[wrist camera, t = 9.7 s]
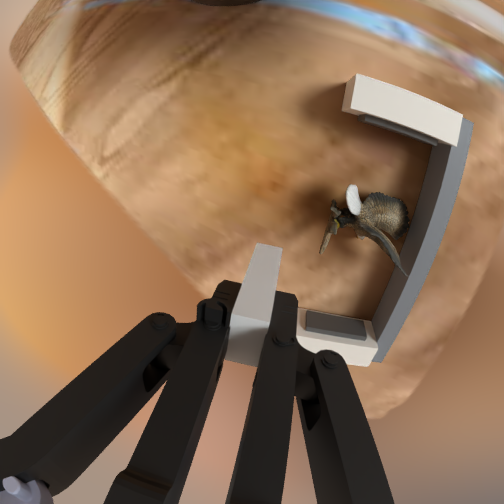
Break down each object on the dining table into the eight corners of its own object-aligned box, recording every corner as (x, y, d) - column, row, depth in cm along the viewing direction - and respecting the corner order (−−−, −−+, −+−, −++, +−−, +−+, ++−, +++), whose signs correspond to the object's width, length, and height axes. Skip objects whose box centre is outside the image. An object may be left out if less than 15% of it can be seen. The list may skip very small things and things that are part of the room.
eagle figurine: (317, 260, 29) (398, 282, 27) (318, 247, 22) (422, 276, 20) (334, 192, 30) (411, 214, 28) (339, 162, 23) (435, 190, 21)
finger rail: (346, 82, 22) (356, 73, 18) (454, 121, 22) (479, 123, 17) (287, 325, 35) (284, 353, 30) (375, 340, 34) (382, 368, 29)
